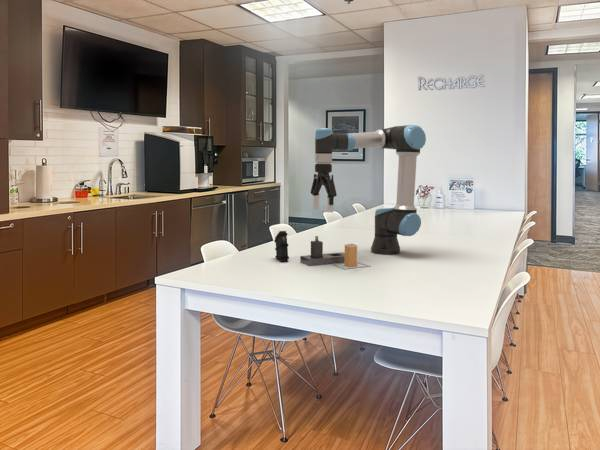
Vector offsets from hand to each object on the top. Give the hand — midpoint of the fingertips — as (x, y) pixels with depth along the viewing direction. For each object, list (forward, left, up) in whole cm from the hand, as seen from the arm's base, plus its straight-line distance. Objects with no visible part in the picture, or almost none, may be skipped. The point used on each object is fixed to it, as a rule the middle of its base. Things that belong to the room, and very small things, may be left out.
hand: (322, 211), depth 233 cm
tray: (-9, +10, -25) cm, 28 cm away
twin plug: (+2, -2, -24) cm, 24 cm away
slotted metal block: (-3, -2, -25) cm, 25 cm away
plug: (-9, +10, -24) cm, 28 cm away
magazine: (+13, -16, -25) cm, 33 cm away
